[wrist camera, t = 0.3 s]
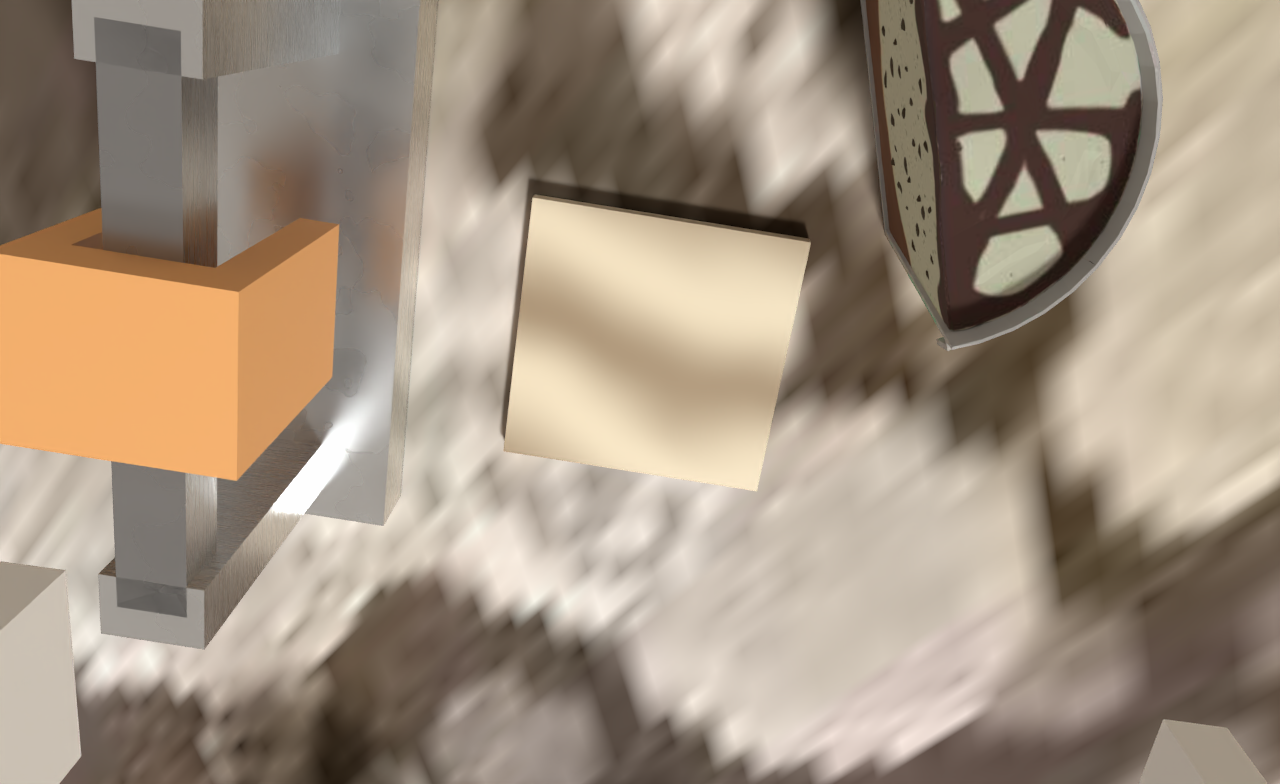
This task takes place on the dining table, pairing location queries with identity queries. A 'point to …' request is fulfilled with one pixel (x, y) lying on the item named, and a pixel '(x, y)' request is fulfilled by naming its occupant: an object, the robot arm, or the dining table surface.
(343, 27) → the rail stand
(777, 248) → the pad
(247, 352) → the orange notched sleeve
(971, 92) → the food container
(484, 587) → the dining table surface
